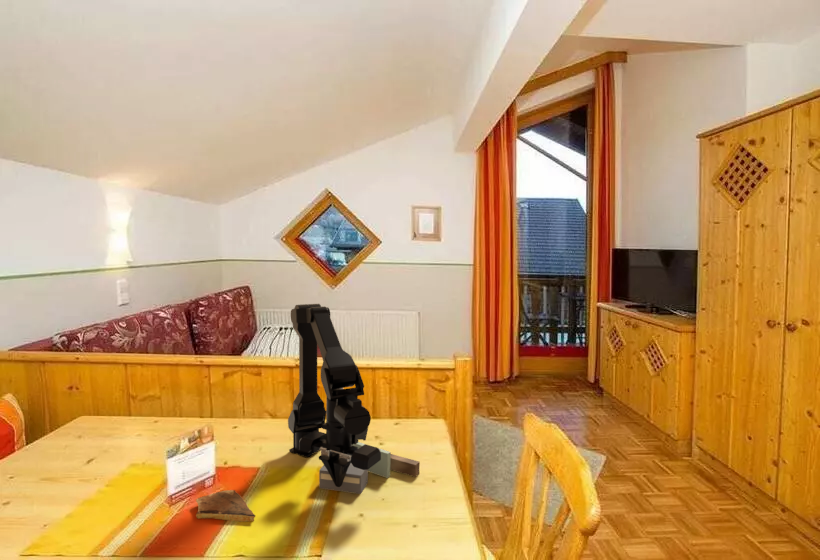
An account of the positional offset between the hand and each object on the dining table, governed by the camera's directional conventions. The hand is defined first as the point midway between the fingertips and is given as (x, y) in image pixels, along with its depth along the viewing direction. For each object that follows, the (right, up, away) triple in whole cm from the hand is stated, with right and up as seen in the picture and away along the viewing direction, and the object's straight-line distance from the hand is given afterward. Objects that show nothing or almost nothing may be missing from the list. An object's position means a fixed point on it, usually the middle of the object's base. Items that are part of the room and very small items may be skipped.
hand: (338, 486), depth 104 cm
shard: (-22, -3, -5) cm, 23 cm away
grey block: (+1, -2, +4) cm, 5 cm away
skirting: (+10, -1, +14) cm, 17 cm away
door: (+6, -1, +12) cm, 14 cm away
